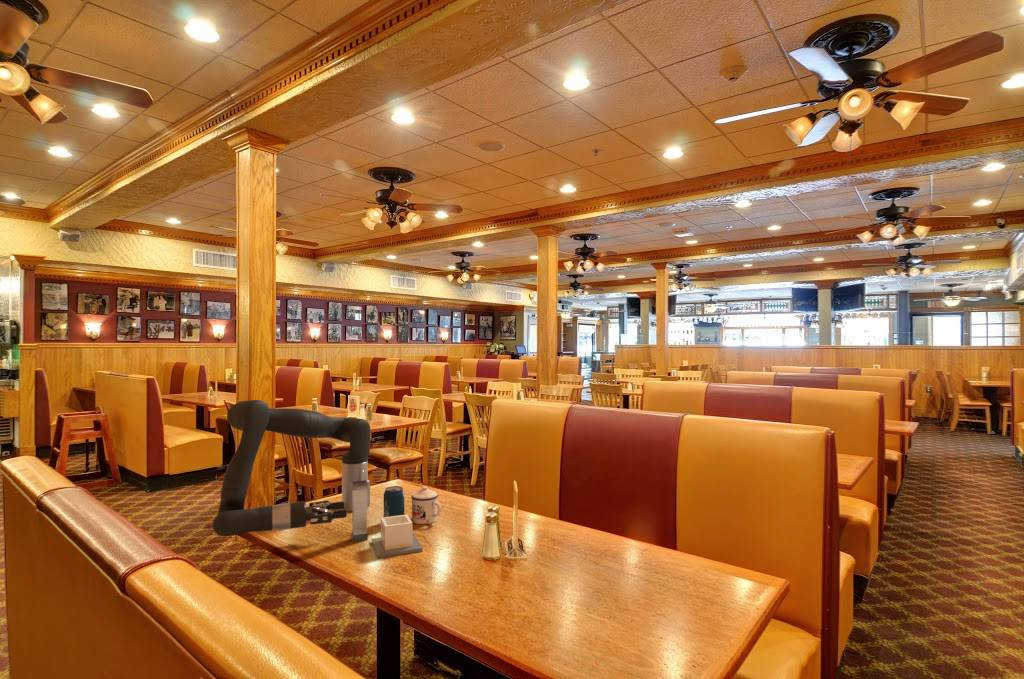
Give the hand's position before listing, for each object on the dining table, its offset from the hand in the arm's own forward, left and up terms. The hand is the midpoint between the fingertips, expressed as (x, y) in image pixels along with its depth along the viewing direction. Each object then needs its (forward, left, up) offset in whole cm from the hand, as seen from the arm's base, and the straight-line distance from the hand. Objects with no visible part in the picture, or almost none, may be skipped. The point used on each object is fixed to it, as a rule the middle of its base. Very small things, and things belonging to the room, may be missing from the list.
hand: (345, 509), depth 169 cm
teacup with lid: (-27, +10, -10) cm, 31 cm away
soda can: (-19, +2, -10) cm, 22 cm away
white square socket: (-5, +17, -10) cm, 20 cm away
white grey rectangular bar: (-3, +3, -10) cm, 11 cm away
